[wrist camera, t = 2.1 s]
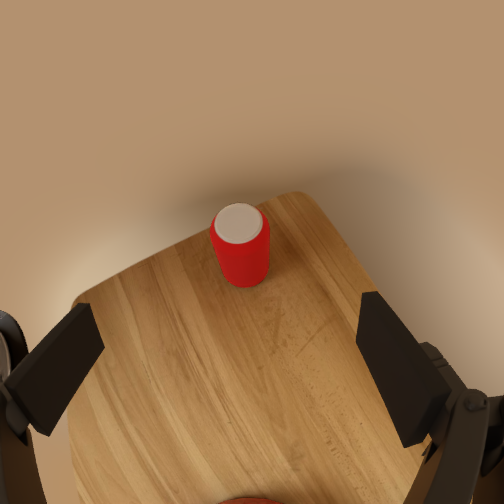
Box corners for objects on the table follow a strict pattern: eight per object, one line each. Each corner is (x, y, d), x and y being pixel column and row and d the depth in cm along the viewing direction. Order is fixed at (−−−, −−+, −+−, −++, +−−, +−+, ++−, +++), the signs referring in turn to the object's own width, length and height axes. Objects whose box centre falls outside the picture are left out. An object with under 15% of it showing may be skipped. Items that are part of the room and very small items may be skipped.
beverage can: (218, 255, 40) (202, 204, 29) (261, 243, 40) (260, 190, 29) (228, 295, 37) (213, 256, 26) (274, 283, 37) (278, 239, 27)
